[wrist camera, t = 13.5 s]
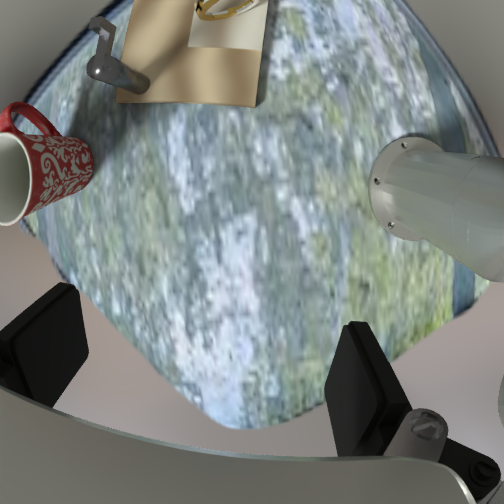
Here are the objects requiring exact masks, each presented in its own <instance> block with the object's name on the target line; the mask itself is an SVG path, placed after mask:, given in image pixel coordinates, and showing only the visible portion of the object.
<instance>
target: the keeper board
mask: <svg viewBox="0 0 504 504" xmlns="http://www.w3.org/2000/svg"><path fill="white" fill-rule="evenodd" d="M207 1H209V0H204V2H203V4H204V3H205V2H207ZM246 1H247V0H220V1H218V2H217V3H216V4H214V5H213V6H212V7H211V8H209V9H208V10H207V12H208V13H216V12H222V11H226V10H227V9H228V8H231V7H234V8H235V7H237V6H239V5H241V4H243V3H244V2H246ZM268 3H269V0H260V1H259V2H258V3H257V4H256V5H254V6H253V7H252V8H250V9H248V10H247V11H245V12H243V13H240V14H238V15H237V16H235V17H232V18H230V17H229V18H225V19H221V20H215V21H204V20H201V19H199V17H198V15H197V13H196V11H195V8H194V4H195V0H134V3H133V7H132V11H131V15H130V19H129V24H128V28H127V33H126V37H125V42H124V47H123V53H122V58H121V62H123V63H125V64H127V65H128V66H130V67H132V68H134V69H135V70H137V71H139V72H141V73H142V74H144V75H146V76H147V77H148V78H149V79H150V87H149V89H148V90H147V91H146V92H145V93H143V94H140V95H137V94H134V93H132V92H129V91H126V90H124V89H121V88H118V87H117V89H116V97H115V102H116V103H120V104H123V103H192V104H213V105H227V106H239V107H250V108H255V106H256V98H257V89H258V81H259V73H260V65H261V57H262V49H263V41H264V34H265V26H266V18H267V11H268ZM203 4H202V5H203Z"/></svg>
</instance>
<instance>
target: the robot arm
mask: <svg viewBox="0 0 504 504" xmlns="http://www.w3.org/2000/svg"><path fill="white" fill-rule="evenodd" d="M401 144H403V147H401ZM375 178H376V179H377V181H376V182H374V179H375ZM368 195H369V202H370V205H371V208H372V211H373V213H374V215H375V217H376V219H377V220H378V222H379V223H380V224H381V225H382V227H384V228H385V229H386V230H387V231H388V232H390V233H391V234H393V235H394V236H396V237H398V238H401V239H403V240H410V241H417V240H422V239H425V240H427V241H428V242H430V243H431V244H433V245H434V246H436V247H437V248H439V249H441V250H442V251H444V252H445V253H447V254H448V255H450V256H451V257H453V258H454V259H455V260H457V261H458V262H460V263H461V264H463V265H464V266H466V267H467V268H469V269H470V270H472V271H473V272H474V273H476V274H477V275H479V276H481V277H482V278H484V279H487V280H489V281H493V282H502V283H503V282H504V158H499V157H491V156H483V155H474V154H465V153H454V152H445V151H444V150H443V149H442V148H441V147H440V146H438V145H437V144H436V143H434V142H432V141H430V140H428V139H426V138H421V137H405V138H400V139H398V140H396V141H393V142H392V143H390V144H389V145H387V146H386V147H385V148H384V149H383V150H382V151H381V152H380V153H379V155H378V156H377V158H376V160H375V161H374V163H373V166H372V169H371V171H370V176H369V181H368ZM389 222H390V225H388V223H389ZM88 353H89V349H88V344H87V338H86V333H85V328H84V321H83V315H82V308H81V301H80V294H79V291H78V290H77V289H76V287H75V286H74V285H72V284H67V283H63V282H60V283H58V284H57V285H56V286H54V287H53V288H52V289H50V290H49V291H48V292H47V293H45V294H44V295H43V296H42V297H40V298H39V299H38V300H37V301H35V302H34V303H33V304H32V305H30V306H29V307H28V308H27V309H25V310H24V311H23V312H22V313H21V314H19V315H18V316H17V317H16V318H15V319H14V320H13V321H11V322H10V323H9V324H8V325H7V326H5V327H4V328H3V329H2V330H1V331H0V504H504V481H501V480H500V479H501V472H500V468H499V467H498V464H497V463H496V462H495V461H494V460H493V459H491V458H490V457H488V456H486V455H484V454H481V453H479V452H477V451H475V450H472V449H470V448H468V447H466V446H464V445H462V444H460V443H458V442H456V441H453V440H451V439H449V438H447V436H448V426H447V423H446V421H445V420H444V418H443V417H441V416H440V415H439V414H438V413H436V412H434V411H432V410H429V409H421V408H419V409H414V410H413V409H412V407H411V405H410V403H409V401H408V399H407V397H406V395H405V393H404V391H403V389H402V387H401V385H400V383H399V381H398V379H397V377H396V375H395V373H394V371H393V369H392V367H391V365H390V363H389V362H388V360H387V358H386V356H385V354H384V353H383V351H382V349H381V347H380V345H379V343H378V341H377V339H376V338H375V336H374V334H373V332H372V330H371V328H370V327H369V325H368V323H367V322H359V321H350V322H349V324H348V325H344V326H343V329H342V332H341V336H340V339H339V342H338V346H337V349H336V352H335V355H334V358H333V362H332V365H331V368H330V371H329V374H328V377H327V380H326V383H325V388H324V392H325V397H326V402H327V407H328V411H329V416H330V420H331V425H332V429H333V435H334V440H335V444H336V449H337V454H338V457H294V456H269V455H255V454H244V453H234V452H225V451H217V450H210V449H203V448H196V447H191V446H185V445H179V444H174V443H169V442H164V441H160V440H155V439H150V438H146V437H142V436H138V435H133V434H130V433H126V432H122V431H119V430H115V429H112V428H109V427H105V426H102V425H99V424H95V423H92V422H89V421H86V420H83V419H80V418H77V417H74V416H72V415H69V414H66V413H63V412H61V411H58V410H56V409H53V406H54V405H55V403H56V402H57V400H58V399H59V397H60V396H61V395H62V393H63V392H64V390H65V389H66V387H67V386H68V384H69V383H70V382H71V380H72V379H73V377H74V376H75V375H76V373H77V372H78V370H79V369H80V368H81V366H82V365H83V363H84V362H85V361H86V359H87V357H88ZM498 412H499V416H500V420H501V422H502V425H503V427H504V376H503V379H502V382H501V386H500V390H499V396H498Z"/></svg>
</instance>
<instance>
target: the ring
mask: <svg viewBox="0 0 504 504" xmlns="http://www.w3.org/2000/svg"><path fill="white" fill-rule="evenodd" d="M218 1H220V0H209V1H207V2H205V3H204V4H203V2H204V0H195V4H194V8H195V11H196V13H197V15H198V17H199V19H201V20H204V21H215V20H221V19H225V18H229V17H230V18H232V17H235V16H237V15H238V14H240V13H243V12H245V11H247V10H248V9H250V8H252V7H253V6H254V5H256V4H257V3H258V2H259V1H260V0H247V1H246V2H244V3H243V4H241V5H239V6H237V7H235V8H234V7H231V8H228V9H227V10H226V11H222V12H216V13H208V12H207V10H208V9H209V8H211V7H212V6H213V5H214V4H216V3H217V2H218ZM202 4H203V5H202Z"/></svg>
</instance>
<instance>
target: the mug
mask: <svg viewBox="0 0 504 504" xmlns="http://www.w3.org/2000/svg"><path fill="white" fill-rule="evenodd" d="M11 112H16V113H19V114H21V115H23V116H24V117H26V118H27V119H28V120H30V121H31V122H32V123H33V124H34V125H35V126H36V127H37V128H38V129H39V130H40V131H41V132H42V133H43V134H44V135H25V134H24V133H23V132H21V131H19V130H18V129H17V128H16V127H15V125H14V124H13V122H12V118H11ZM0 130H1V132H2V133H0V225H3V226H9V225H13V224H15V223H17V222H18V221H19V220H20V219H21V218H23V217H24V216H26V215H28V214H31V213H33V212H35V211H37V210H39V209H41V208H43V207H45V206H47V205H49V204H51V203H53V202H56V201H58V200H60V199H62V198H64V197H66V196H69V195H71V194H74V193H76V192H78V191H80V190H82V189H83V188H84V187H85V186H86V185H87V184H88V182H89V180H90V178H91V176H92V172H93V165H94V164H93V156H92V153H91V150H90V148H89V147H88V145H87V144H86V143H85V142H84V141H83V140H81V139H79V138H75V137H63V136H62V135H61V134H60V133H59V132H58V131H57V130H56V128H55V127H54V126H53V125H52V123H51V122H50V121H49V120H48V119H47V118H46V117H45V116H44V115H43V114H42V113H40V112H39V111H38V110H37V109H36V108H34V107H33V106H31V105H29V104H27V103H24V102H14V103H11V104H10V105H8V106H7V107H6V108H5V109H4V110H3V111H2V113H1V115H0Z"/></svg>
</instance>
